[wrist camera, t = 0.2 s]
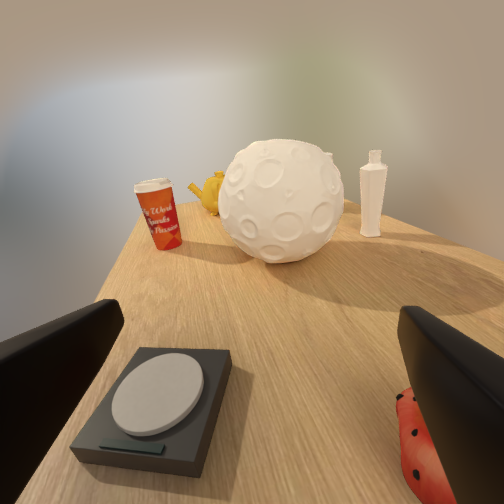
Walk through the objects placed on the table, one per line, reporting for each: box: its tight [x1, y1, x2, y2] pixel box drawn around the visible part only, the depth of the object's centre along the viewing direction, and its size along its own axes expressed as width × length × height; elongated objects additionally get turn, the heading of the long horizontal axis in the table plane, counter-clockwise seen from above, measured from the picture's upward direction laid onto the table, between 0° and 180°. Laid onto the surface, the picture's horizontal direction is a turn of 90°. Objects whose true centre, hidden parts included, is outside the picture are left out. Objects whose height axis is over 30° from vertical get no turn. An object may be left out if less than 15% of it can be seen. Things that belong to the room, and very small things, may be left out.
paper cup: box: [134, 178, 182, 250], centre depth 58 cm, size 8×8×14 cm
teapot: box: [188, 171, 225, 216], centre depth 78 cm, size 14×14×11 cm
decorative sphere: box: [218, 139, 344, 263], centre depth 44 cm, size 20×20×20 cm
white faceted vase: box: [360, 150, 388, 237], centre depth 49 cm, size 5×4×15 cm
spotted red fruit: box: [396, 387, 457, 504], centre depth 15 cm, size 8×7×10 cm
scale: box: [70, 347, 232, 478], centre depth 24 cm, size 10×10×3 cm
